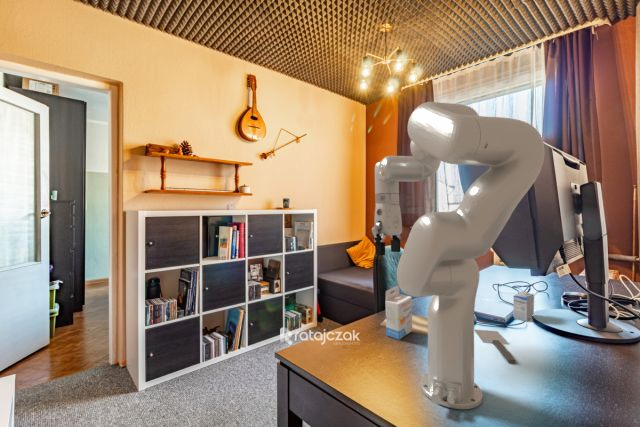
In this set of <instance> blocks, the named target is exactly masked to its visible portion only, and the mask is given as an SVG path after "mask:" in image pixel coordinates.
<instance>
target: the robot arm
mask: <svg viewBox="0 0 640 427" xmlns="http://www.w3.org/2000/svg"><path fill="white" fill-rule="evenodd" d="M407 134H408V137H409V140H410V146H409V147H410V152H411V155H387V156H384V158H382V159H381V161H378V162H376V163H375V165H374V200H375V201H374V202H375V208H374V226H372V228H371V233H372V238H373V242H374V247H375V248H374V249H375V250H374V252H375V255H376V256H386V242H385V239H386V237H387V236H388V237H389V236H390V238H391V239H390V251H391V252H392V253H400V252H401V239H402V236H401V235H402V234H403V221H402V213H401V207H400V182H413V183H415V182H421V181H424V180H426V179H428V178H429V177H430V178H431V177H432V176H434V175H435V174H436V173H437V171H438V170H439V168H440V165H441V162H443V163H446V164H450V165H456V166H457V165H458V166H462V165H464V166H465V165H467V166H488V167H489V168H488V169H487V170H486V171H485V172H484V173H483V174H481V175H480V176H479V177H477V178H476V179H475V181H473V183H471V184H470V186H469V187H468V189H467V190H466V191H465V194H464V196H463V198H462V201H461V202H460V204H459V205H458V206H457V208H456V209H454V210H451V211H434V212H427V213H425V214H423V215H421V216H420V217H419V218H418V219H416V221H415V222H414V223H413V225H412V228H411V230H410V232H409V235H408V236H407V240H406V243H405V244H404V248H403V250H402V252H401V255H400V257H399V260H398V264H397V270H396V280H397V284H398V285H399V289H400V290H401V292H403V293H404V295H406V296H410V297H412V298H426V297H427V298H428V297H432V298H431V300H430V302H429V305H428V308H427V309H428V310H427V317H428V336H427V373H426V374H424V375H423V376H422V377H421V379H420V388H421V391H422V392H423V394H424V395H425V396H426V397H427V398H429V399H430V400H431V401H432V403H433V404H435V405H441V406H444V407H447V408H450V409H456V410H469V409H474V408H476V407H478V406H480V405H481V404H482V403H483V391H482V390H481V388H480V387H479V385H478V384H477V383H476V382H475V331H474V330H475V306H476V297H477V291H478V287H479V282H480V268H479V265H478V263H477V261H476V260H475V259H478V258H481V257H482V256H485V255H486V254H487V253H488V252H489V251H490V250H491V248H492V247H493V245H494V244H495V242H496V241H497V238H498V237H499V236H500V233H501V232H502V231H503V229H504V228H505V226H506V224H507V223H508V221H509V220H510V218H511V216H512V214H513V212H514V210H515V209H516V208H517V206H518V204H519V203H520V202H521V201H522V199H523V198H524V196H526V194H527V193H528V192H529V190H530V189H531V187H532V186H533V184H534V183H535V182H536V180H537V178H538V177H539V175H540V173H541V170H542V168H543V164H544V160H545V142H544V140H543V137H542V135H541V133H540V131H538V129H537V128H536V127H535V126H533V125H532V124H531V123H528V122H526V121H523V120H521V119H520V120H519V119H516V118H510V117H501V116H486V115H485V116H483V115H479V114H478V112H477V111H476V109H474V108H473V107H471V106H468V105H466V104H459V103H449V102H440V101H439V102H437V101H427V102H423V103H421V104H419V105H418V106H417V107H416V108H414V110H413V111H412V113H411V114H410V116H409V117H408V122H407Z"/></svg>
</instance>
